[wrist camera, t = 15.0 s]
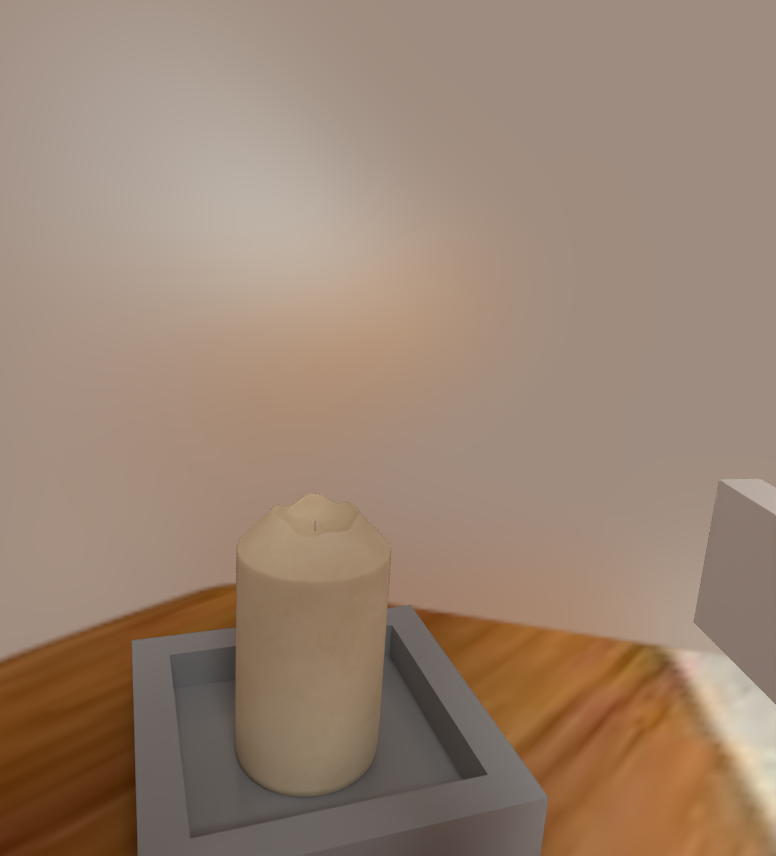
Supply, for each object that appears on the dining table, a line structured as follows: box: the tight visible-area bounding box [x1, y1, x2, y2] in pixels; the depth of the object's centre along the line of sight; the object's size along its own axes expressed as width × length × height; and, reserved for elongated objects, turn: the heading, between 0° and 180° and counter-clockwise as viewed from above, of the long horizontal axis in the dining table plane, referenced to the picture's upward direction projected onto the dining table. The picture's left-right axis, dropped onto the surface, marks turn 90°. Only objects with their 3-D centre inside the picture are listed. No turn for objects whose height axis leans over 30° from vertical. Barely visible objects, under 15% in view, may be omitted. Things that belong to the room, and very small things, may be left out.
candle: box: [235, 494, 391, 797], centre depth 28 cm, size 6×6×10 cm
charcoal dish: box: [132, 605, 549, 856], centre depth 29 cm, size 13×13×2 cm
